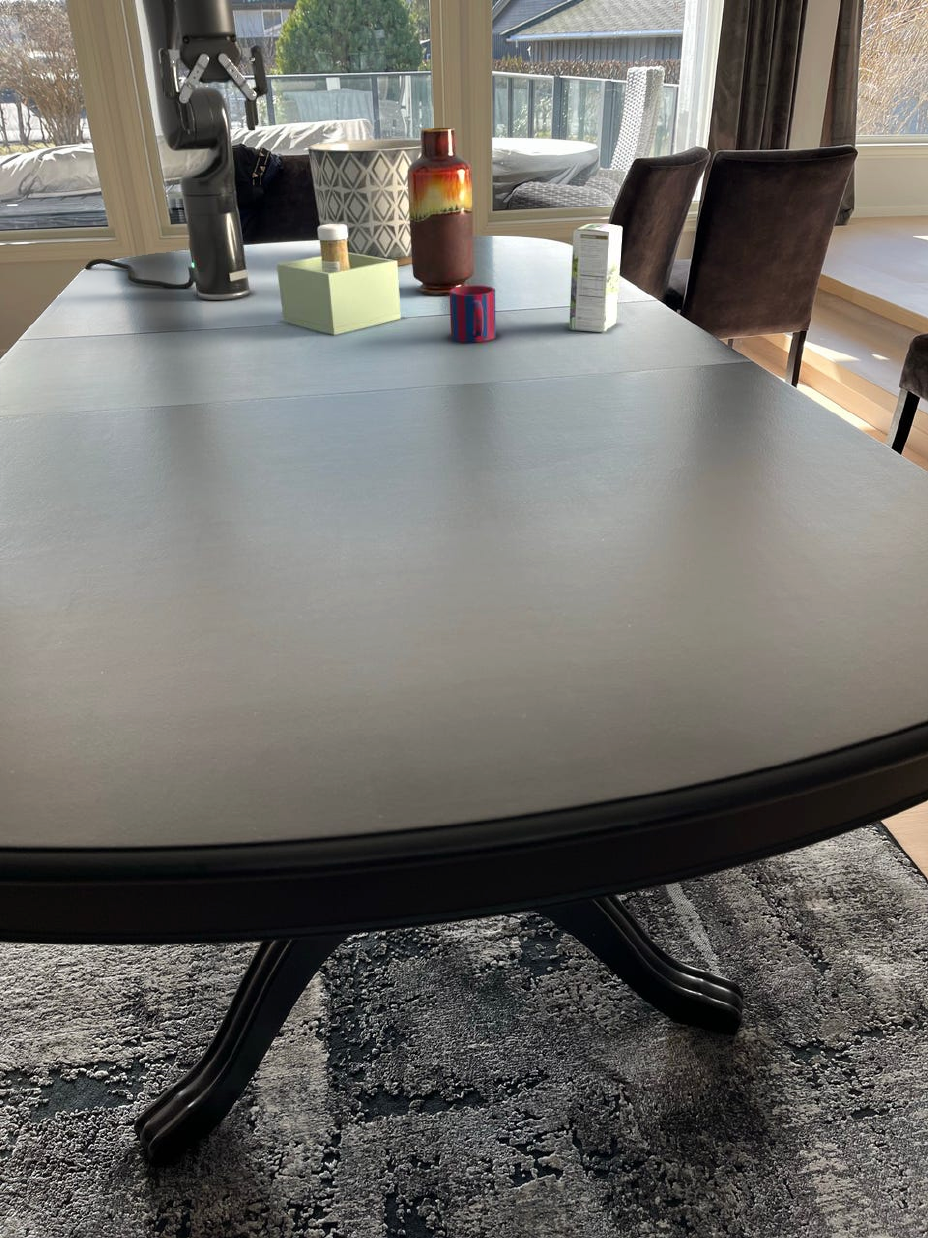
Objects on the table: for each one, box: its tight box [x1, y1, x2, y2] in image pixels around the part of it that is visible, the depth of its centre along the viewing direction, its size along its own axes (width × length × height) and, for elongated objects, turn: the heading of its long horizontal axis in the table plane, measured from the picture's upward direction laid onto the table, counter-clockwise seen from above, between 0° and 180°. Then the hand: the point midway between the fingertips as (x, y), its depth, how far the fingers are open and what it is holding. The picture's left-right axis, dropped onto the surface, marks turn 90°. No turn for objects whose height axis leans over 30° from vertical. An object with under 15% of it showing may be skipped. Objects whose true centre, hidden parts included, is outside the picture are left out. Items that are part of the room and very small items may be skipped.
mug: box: [449, 285, 497, 344], centre depth 139 cm, size 7×10×7 cm
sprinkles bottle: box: [317, 224, 350, 273], centre depth 150 cm, size 5×5×14 cm
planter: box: [307, 138, 421, 266], centre depth 193 cm, size 26×26×22 cm
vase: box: [407, 127, 474, 297], centre depth 164 cm, size 11×11×26 cm
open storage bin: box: [276, 252, 402, 336], centre depth 151 cm, size 14×14×9 cm
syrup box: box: [568, 222, 623, 333], centre depth 141 cm, size 6×6×14 cm
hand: (221, 131), depth 134 cm, fingers open, 8 cm apart
